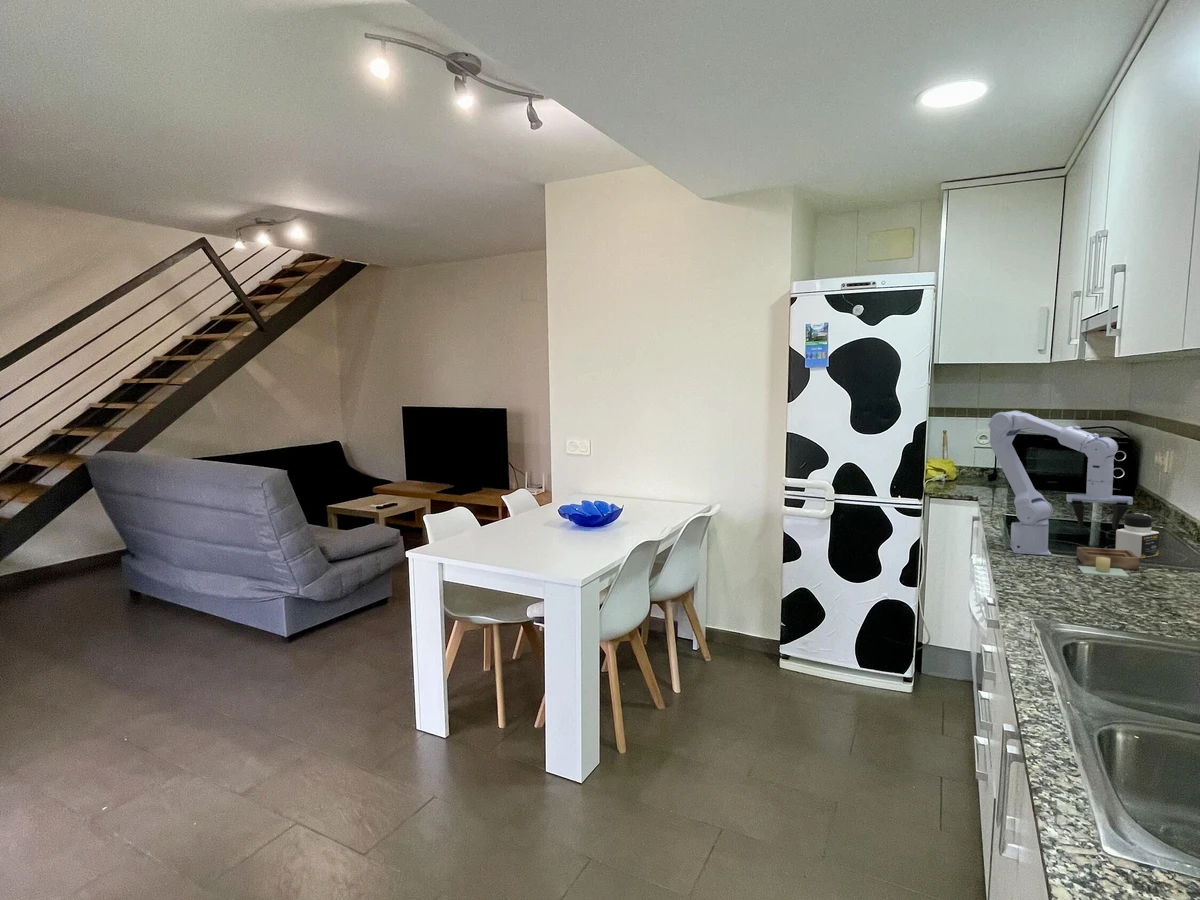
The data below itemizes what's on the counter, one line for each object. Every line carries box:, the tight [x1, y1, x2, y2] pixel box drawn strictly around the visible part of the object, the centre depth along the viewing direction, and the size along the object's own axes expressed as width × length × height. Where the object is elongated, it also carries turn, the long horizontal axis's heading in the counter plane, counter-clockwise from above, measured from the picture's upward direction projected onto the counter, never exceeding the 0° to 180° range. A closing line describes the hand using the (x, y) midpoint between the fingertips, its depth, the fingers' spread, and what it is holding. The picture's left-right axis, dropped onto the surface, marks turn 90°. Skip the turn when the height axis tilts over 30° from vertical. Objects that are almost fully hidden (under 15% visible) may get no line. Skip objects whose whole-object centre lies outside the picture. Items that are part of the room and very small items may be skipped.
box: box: [1076, 546, 1141, 571], centre depth 176 cm, size 12×9×3 cm
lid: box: [1077, 557, 1130, 579], centre depth 169 cm, size 10×7×4 cm
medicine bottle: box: [1115, 512, 1160, 559], centre depth 183 cm, size 7×7×12 cm
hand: (1097, 527), depth 176 cm, fingers open, 7 cm apart
